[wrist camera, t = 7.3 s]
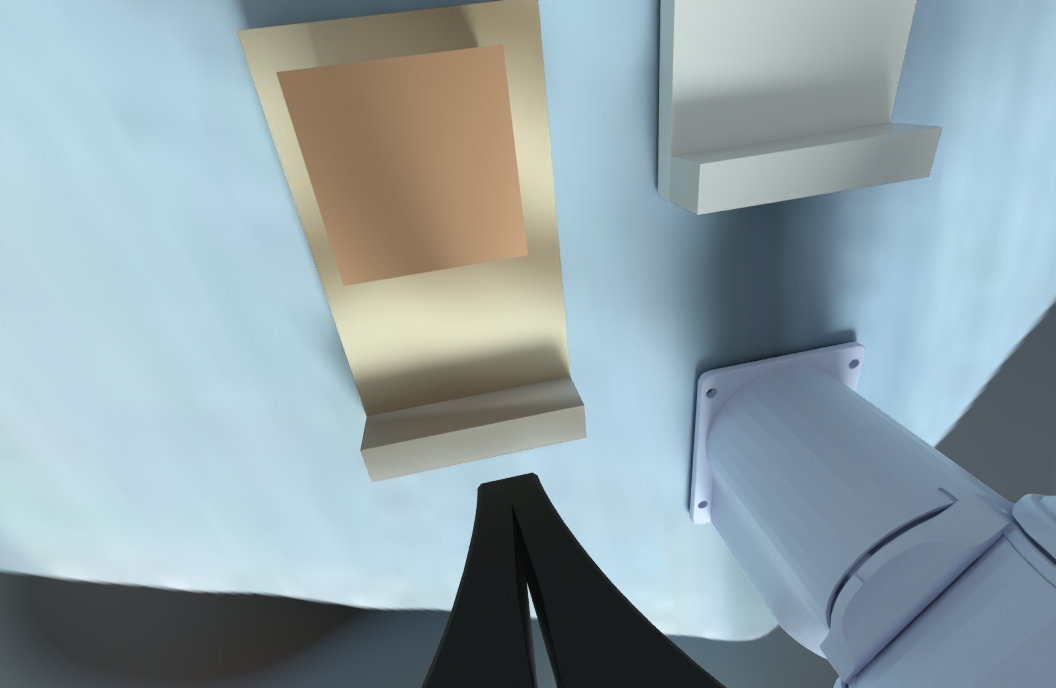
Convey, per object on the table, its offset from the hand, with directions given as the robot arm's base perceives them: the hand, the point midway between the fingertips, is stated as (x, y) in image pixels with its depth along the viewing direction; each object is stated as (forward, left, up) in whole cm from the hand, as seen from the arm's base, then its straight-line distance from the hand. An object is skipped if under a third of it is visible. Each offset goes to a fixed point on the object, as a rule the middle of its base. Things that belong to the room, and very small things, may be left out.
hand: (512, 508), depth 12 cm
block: (+7, +1, -8) cm, 11 cm away
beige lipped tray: (+4, +1, -9) cm, 10 cm away
